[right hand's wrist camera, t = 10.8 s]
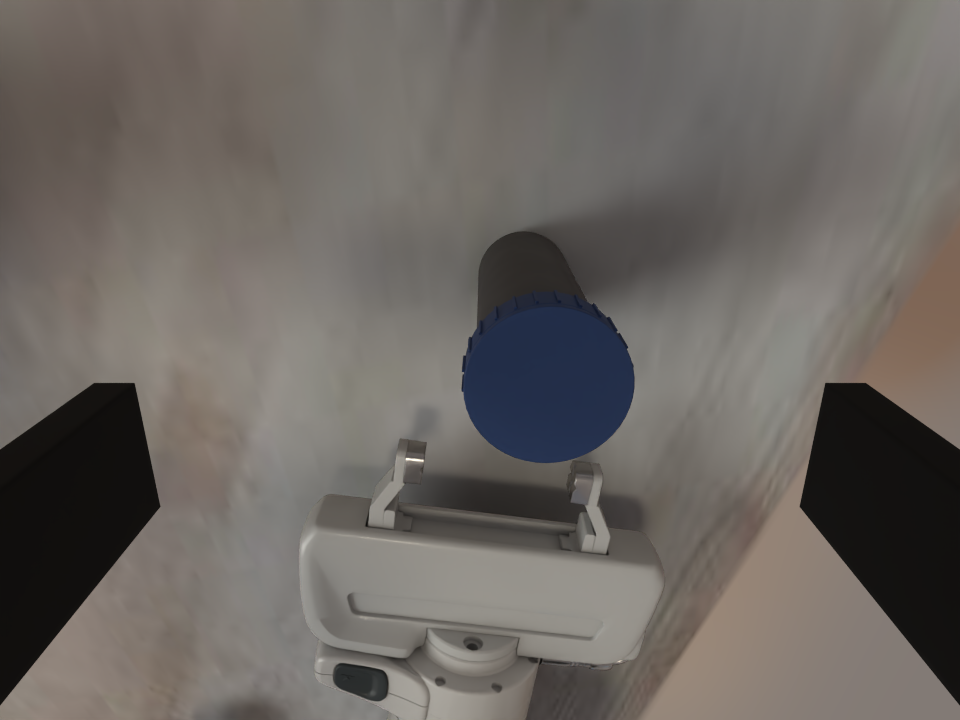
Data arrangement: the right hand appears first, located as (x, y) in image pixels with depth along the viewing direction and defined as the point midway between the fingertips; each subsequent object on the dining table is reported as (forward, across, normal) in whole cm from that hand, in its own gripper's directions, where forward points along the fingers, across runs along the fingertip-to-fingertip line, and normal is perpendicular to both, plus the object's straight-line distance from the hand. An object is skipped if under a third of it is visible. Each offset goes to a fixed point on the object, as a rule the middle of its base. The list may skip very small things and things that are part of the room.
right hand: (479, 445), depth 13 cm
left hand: (+19, -1, +11) cm, 22 cm away
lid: (+10, -2, +3) cm, 10 cm away
